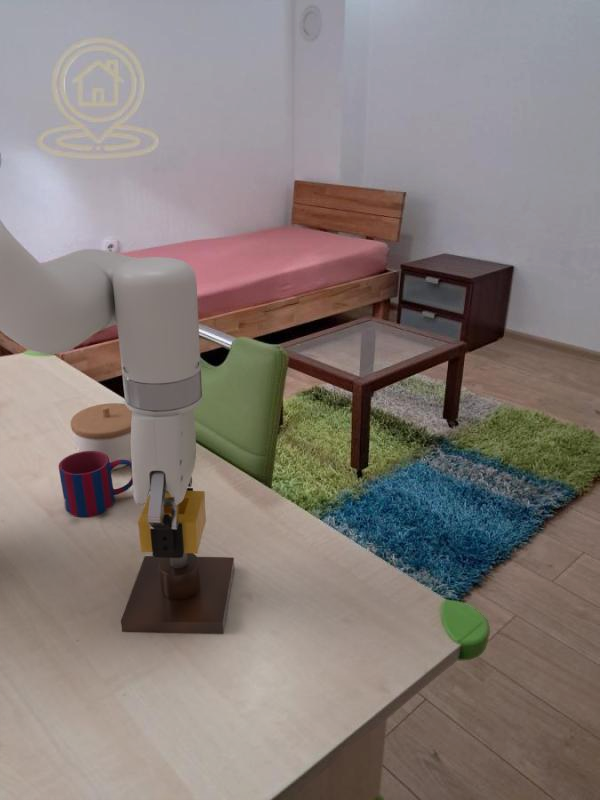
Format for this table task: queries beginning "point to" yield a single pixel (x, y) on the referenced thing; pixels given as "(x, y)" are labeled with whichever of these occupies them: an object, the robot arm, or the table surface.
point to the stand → (180, 595)
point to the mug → (89, 482)
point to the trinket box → (104, 431)
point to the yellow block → (189, 517)
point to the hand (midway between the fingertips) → (174, 535)
